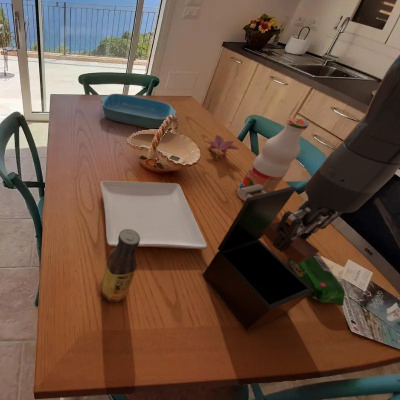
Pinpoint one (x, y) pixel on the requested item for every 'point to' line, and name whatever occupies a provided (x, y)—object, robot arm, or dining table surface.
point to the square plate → (150, 214)
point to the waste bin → (255, 283)
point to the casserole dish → (136, 110)
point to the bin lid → (255, 214)
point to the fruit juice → (275, 157)
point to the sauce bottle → (120, 266)
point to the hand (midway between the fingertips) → (286, 244)
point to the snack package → (319, 280)
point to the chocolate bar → (293, 245)
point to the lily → (221, 144)
